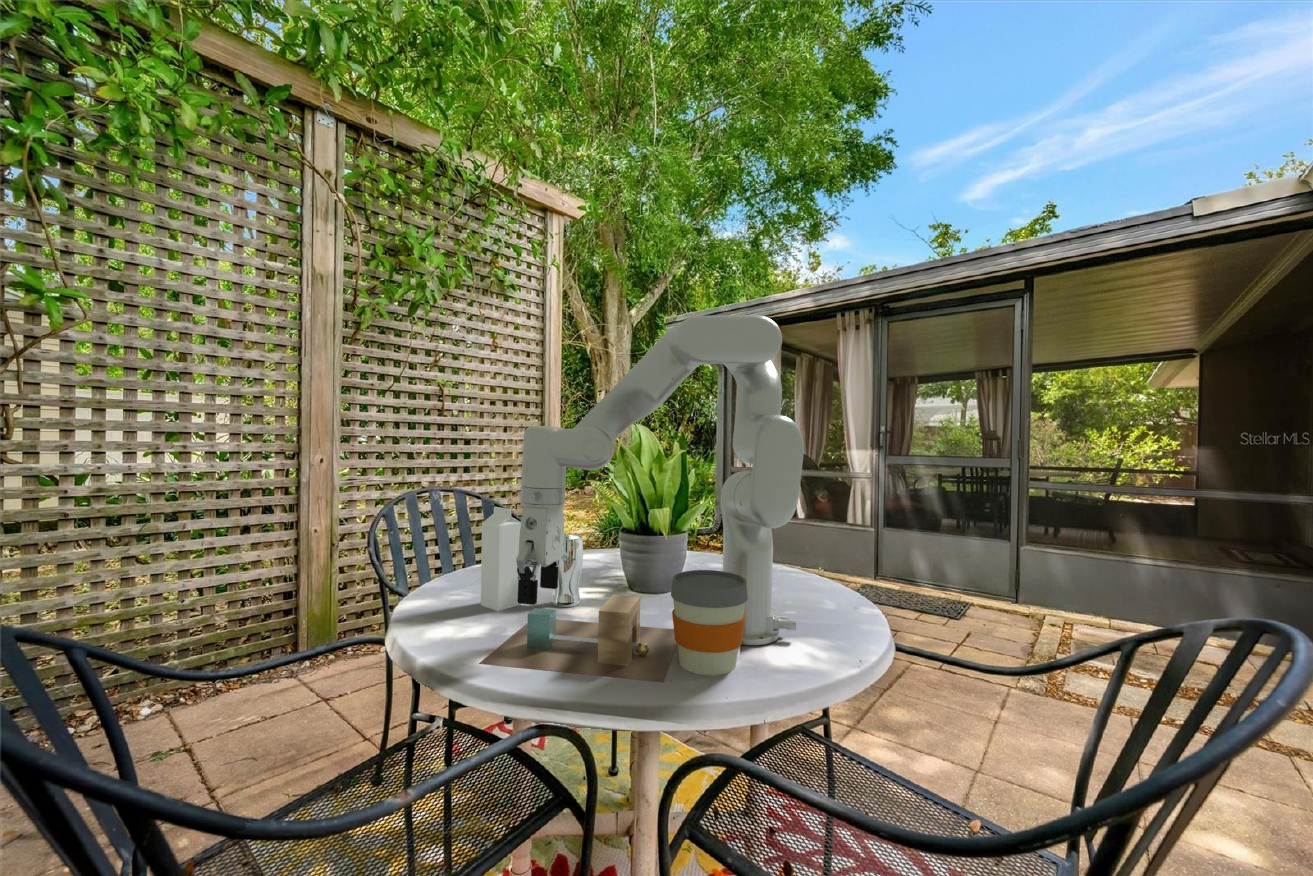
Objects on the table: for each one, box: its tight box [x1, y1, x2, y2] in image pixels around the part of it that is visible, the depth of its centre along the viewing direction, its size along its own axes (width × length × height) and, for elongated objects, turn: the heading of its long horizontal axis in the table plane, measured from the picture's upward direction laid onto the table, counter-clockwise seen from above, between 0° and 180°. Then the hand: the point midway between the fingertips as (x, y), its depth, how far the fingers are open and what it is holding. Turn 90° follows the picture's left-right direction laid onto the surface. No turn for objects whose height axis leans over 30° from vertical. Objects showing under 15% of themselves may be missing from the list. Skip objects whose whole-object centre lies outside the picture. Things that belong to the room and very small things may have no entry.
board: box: [478, 618, 678, 683], centre depth 97 cm, size 30×22×1 cm
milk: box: [480, 506, 522, 612], centre depth 118 cm, size 6×6×22 cm
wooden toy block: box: [598, 594, 641, 666], centre depth 93 cm, size 5×9×8 cm, turn 170°
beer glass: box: [552, 533, 584, 608], centre depth 124 cm, size 7×7×15 cm
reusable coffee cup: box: [670, 569, 748, 676], centre depth 90 cm, size 13×13×15 cm
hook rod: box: [526, 607, 649, 657], centre depth 94 cm, size 21×3×6 cm, turn 80°
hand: (538, 595), depth 96 cm, fingers open, 9 cm apart
